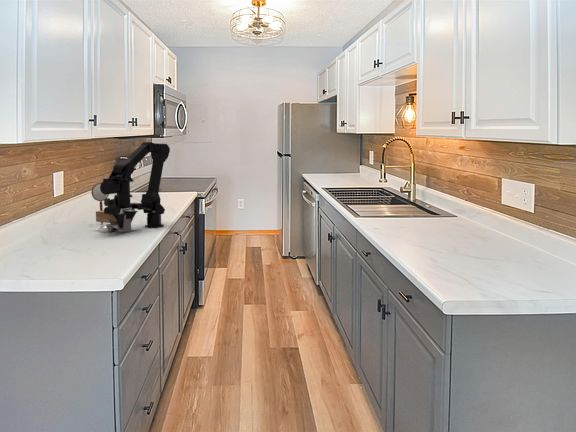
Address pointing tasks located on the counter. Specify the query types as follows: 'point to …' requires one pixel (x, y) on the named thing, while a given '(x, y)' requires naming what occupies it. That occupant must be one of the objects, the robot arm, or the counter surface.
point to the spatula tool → (125, 225)
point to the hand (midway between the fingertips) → (124, 227)
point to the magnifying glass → (98, 195)
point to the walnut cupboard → (106, 217)
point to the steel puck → (105, 229)
